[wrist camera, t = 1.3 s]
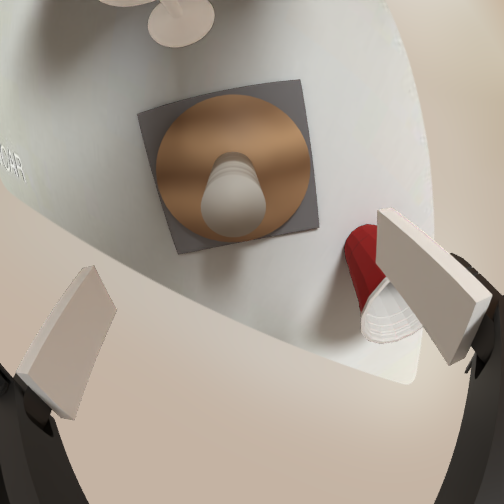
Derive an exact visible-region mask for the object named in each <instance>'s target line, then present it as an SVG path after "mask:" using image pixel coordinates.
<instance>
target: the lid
mask: <svg viewBox="0 0 504 504" xmlns="http://www.w3.org/2000/svg"><path fill="white" fill-rule="evenodd" d="M156 177H157V183H158V188H159V191H160V194H161V197H162V199H163V201H164V203H165V205H166V207H167V208H168V209H169V211H170V212H171V214H172V215H173V216H174V217H175V218H176V219H177V220H178V221H179V222H180V223H181V224H182V225H184V226H185V227H186V228H188V229H189V230H191V231H192V232H194V233H196V234H198V235H200V236H202V237H205V238H208V239H211V240H216V241H221V242H243V241H249V240H253V239H257V238H260V237H262V236H265V235H267V234H269V233H271V232H273V231H274V230H276V229H277V228H279V227H280V226H282V225H283V224H284V223H285V222H286V221H287V220H289V218H290V217H291V216H292V215H293V214H294V213H295V211H296V210H297V209H298V207H299V206H300V204H301V202H302V200H303V198H304V196H305V194H306V191H307V188H308V184H309V179H310V157H309V152H308V148H307V145H306V142H305V139H304V137H303V135H302V133H301V132H300V130H299V129H298V127H297V126H296V124H295V123H294V122H293V121H292V120H291V119H290V117H289V116H288V115H287V114H285V113H284V112H283V111H282V110H280V109H279V108H277V107H276V106H274V105H272V104H271V103H269V102H266V101H264V100H262V99H259V98H255V97H252V96H246V95H222V96H216V97H213V98H209V99H206V100H204V101H201V102H199V103H197V104H195V105H194V106H192V107H190V108H189V109H187V110H186V111H185V112H184V113H182V114H181V115H180V116H179V117H178V118H177V119H176V120H175V121H174V122H173V123H172V125H171V126H170V128H169V129H168V130H167V132H166V134H165V136H164V138H163V140H162V142H161V145H160V147H159V150H158V155H157V160H156Z"/></svg>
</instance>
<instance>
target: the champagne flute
mask: <svg viewBox="0 0 504 504" xmlns="http://www.w3.org/2000/svg"><path fill="white" fill-rule="evenodd" d="M99 1H100V2H103V3H105V4H108V5H112V6H119V7H130V6H136V5H142V4H145V3H149V2H152V1H155V0H99ZM160 2H161V3H159V4H158V5H157V6H156V7H155V8H154V10H153V11H152V13H151V14H150V17H149V20H148V31H149V33H150V35H151V37H152V38H153V39H154V40H155V41H156V42H157V43H159V44H161V45H163V46H167V47H183V46H188V45H190V44H193V43H195V42H197V41H199V40H200V39H201V38H203V37H204V36H205V35H206V34H207V33H208V32H209V30H210V29H211V27H212V25H213V22H214V18H215V14H214V9H213V6H212V5H211V3H210V2H209V1H208V0H160Z"/></svg>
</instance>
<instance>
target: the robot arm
mask: <svg viewBox="0 0 504 504" xmlns="http://www.w3.org/2000/svg"><path fill="white" fill-rule="evenodd" d="M376 264H377V265H378V267H379V268H380V269H381V270H382V272H383V273H384V274H385V275H386V277H387V278H388V279H389V281H390V282H391V283H392V284H393V286H394V287H395V288H396V290H397V291H398V292H399V294H400V295H401V296H402V298H403V299H404V300H405V302H406V303H407V305H408V306H409V307H410V309H411V310H412V311H413V313H414V314H415V316H416V317H417V319H418V320H419V321H420V323H421V324H422V326H423V327H424V328H425V330H426V332H427V333H428V334H429V336H430V337H431V339H432V340H433V342H434V343H435V345H436V346H437V348H438V350H439V351H440V353H441V354H442V356H443V357H444V359H445V361H446V362H447V364H448V365H452V364H454V363H456V362H458V361H460V360H462V359H464V358H465V356H466V354H467V353H468V351H469V349H470V347H472V348H473V349H474V351H475V354H474V356H473V357H472V359H471V361H470V363H469V364H468V366H467V368H466V371H465V373H468V371H469V370H470V368H471V375H470V382H469V388H468V394H467V400H466V405H465V410H464V415H463V419H462V423H461V428H460V432H459V435H458V439H457V443H456V446H455V449H454V453H453V456H452V459H451V462H450V465H449V468H448V471H447V473H446V476H445V479H444V481H443V484H442V486H441V489H440V491H439V493H438V496H437V498H436V500H435V503H434V504H504V295H503V296H502V295H501V294H500V293H499V292H498V291H497V290H496V289H495V288H494V287H493V286H492V285H491V284H490V283H489V282H488V281H487V280H486V279H485V278H484V277H483V276H482V275H481V274H478V271H476V270H475V269H474V268H472V266H471V265H470V264H469V263H468V262H467V261H465V260H464V259H463V258H461V257H459V256H457V255H455V254H453V253H450V254H449V253H448V252H447V251H446V250H445V249H443V248H442V247H441V246H440V245H439V244H438V243H436V242H435V241H434V240H433V239H432V238H430V237H429V236H428V235H427V234H426V233H424V232H423V231H422V230H421V229H419V228H418V227H417V226H416V225H414V224H413V223H412V222H410V221H409V220H408V219H407V218H405V217H404V216H403V215H401V214H400V213H399V212H397V211H396V210H395V209H393V208H392V207H391V208H385V209H379V210H377V247H376ZM116 312H117V309H116V307H115V306H114V304H113V302H112V300H111V298H110V296H109V294H108V292H107V291H106V288H105V287H104V285H103V283H102V281H101V279H100V277H99V275H98V272H97V270H96V268H95V266H89V267H85V268H82V269H81V271H80V272H79V273H78V275H77V276H76V277H75V279H74V280H73V281H72V283H71V284H70V286H69V287H68V288H67V290H66V291H65V293H64V294H63V295H62V297H61V298H60V300H59V301H58V303H57V304H56V306H55V307H54V309H53V310H52V312H51V313H50V315H49V316H48V318H47V319H46V321H45V322H44V324H43V326H42V327H41V329H40V331H39V332H38V334H37V335H36V337H35V339H34V340H33V342H32V344H31V346H30V347H29V349H28V351H27V352H26V354H25V356H24V358H23V360H22V362H21V363H20V365H19V367H18V369H17V371H16V374H15V376H14V377H13V378H12V376H11V375H10V374H9V373H8V372H7V371H6V370H5V369H4V367H3V366H2V365H1V364H0V504H89V503H88V501H87V499H86V497H85V495H84V493H83V491H82V489H81V487H80V485H79V483H78V480H77V478H76V476H75V474H74V471H73V469H72V467H71V464H70V462H69V459H68V457H67V454H66V452H65V449H64V446H63V444H62V440H61V437H60V435H59V431H58V428H57V425H56V422H55V420H54V418H53V417H52V416H51V415H50V413H51V410H53V411H54V412H55V413H56V414H57V415H59V416H60V417H61V418H64V419H70V420H75V417H76V414H77V411H78V408H79V405H80V402H81V399H82V396H83V393H84V390H85V387H86V385H87V382H88V379H89V377H90V374H91V371H92V368H93V366H94V363H95V361H96V358H97V356H98V353H99V351H100V348H101V346H102V344H103V341H104V338H105V337H106V334H107V332H108V329H109V327H110V325H111V323H112V320H113V318H114V316H115V314H116Z"/></svg>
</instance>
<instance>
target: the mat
mask: <svg viewBox="0 0 504 504" xmlns="http://www.w3.org/2000/svg"><path fill="white" fill-rule="evenodd" d="M222 95H246V96H252V97H255V98H259V99H262V100H264V101H266V102H269V103H271V104H272V105H274V106H276V107H277V108H279V109H280V110H282V111H283V112H284V113H285V114H287V115H288V116H289V117H290V119H291V120H292V121H293V122H294V123H295V124H296V126H297V127H298V129H299V130H300V132H301V133H302V135H303V137H304V139H305V142H306V145H307V148H308V152H309V157H310V179H309V184H308V188H307V191H306V194H305V196H304V198H303V200H302V202H301V204H300V206H299V207H298V209H297V210H296V211H295V213H294V214H293V215H292V216H291V217H290V218H289V220H287V221H286V222H285V223H284V224H283V225H282V226H280V227H279V228H277V229H276V230H274V231H273V232H271V233H269V234H267V235H265V236H262V237H260V238H265V237H270V236H276V235H281V234H286V233H292V232H297V231H302V230H308V229H313V228H319V218H318V206H317V196H316V186H315V177H314V168H313V160H312V152H311V144H310V137H309V130H308V123H307V116H306V110H305V104H304V98H303V92H302V86H301V81H300V79H299V80H289V81H280V82H271V83H264V84H257V85H251V86H245V87H239V88H234V89H228V90H223V91H219V92H214V93H209V94H205V95H201V96H197V97H193V98H189V99H185V100H181V101H178V102H174V103H171V104H167V105H164V106H160V107H157V108H154V109H151V110H148V111H145V112H142V113H139V114H137V116H138V120H139V124H140V128H141V132H142V136H143V140H144V144H145V148H146V152H147V155H148V159H149V163H150V166H151V170H152V173H153V177H154V180H155V184H156V187H157V190H158V194H159V197H160V200H161V204H162V207H163V210H164V213H165V216H166V219H167V223H168V226H169V229H170V232H171V235H172V238H173V241H174V244H175V247H176V249H177V252H178V254H183V253H188V252H193V251H198V250H203V249H208V248H213V247H218V246H224V245H229V244H234V243H239V242H221V241H216V240H211V239H208V238H205V237H202V236H200V235H198V234H196V233H194V232H192V231H191V230H189V229H188V228H186V227H185V226H184V225H182V224H181V223H180V222H179V221H178V220H177V219H176V218H175V217H174V216H173V215H172V214H171V212H170V211H169V209H168V208H167V207H166V205H165V203H164V201H163V199H162V197H161V194H160V191H159V188H158V183H157V177H156V160H157V155H158V150H159V147H160V145H161V142H162V140H163V138H164V136H165V134H166V132H167V130H168V129H169V128H170V126H171V125H172V123H173V122H174V121H175V120H176V119H177V118H178V117H179V116H180V115H181V114H182V113H184V112H185V111H186V110H187V109H189V108H190V107H192V106H194V105H195V104H197V103H199V102H201V101H204V100H206V99H209V98H213V97H216V96H222ZM260 238H257V239H260ZM253 240H255V239H253ZM243 242H244V241H243Z"/></svg>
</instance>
